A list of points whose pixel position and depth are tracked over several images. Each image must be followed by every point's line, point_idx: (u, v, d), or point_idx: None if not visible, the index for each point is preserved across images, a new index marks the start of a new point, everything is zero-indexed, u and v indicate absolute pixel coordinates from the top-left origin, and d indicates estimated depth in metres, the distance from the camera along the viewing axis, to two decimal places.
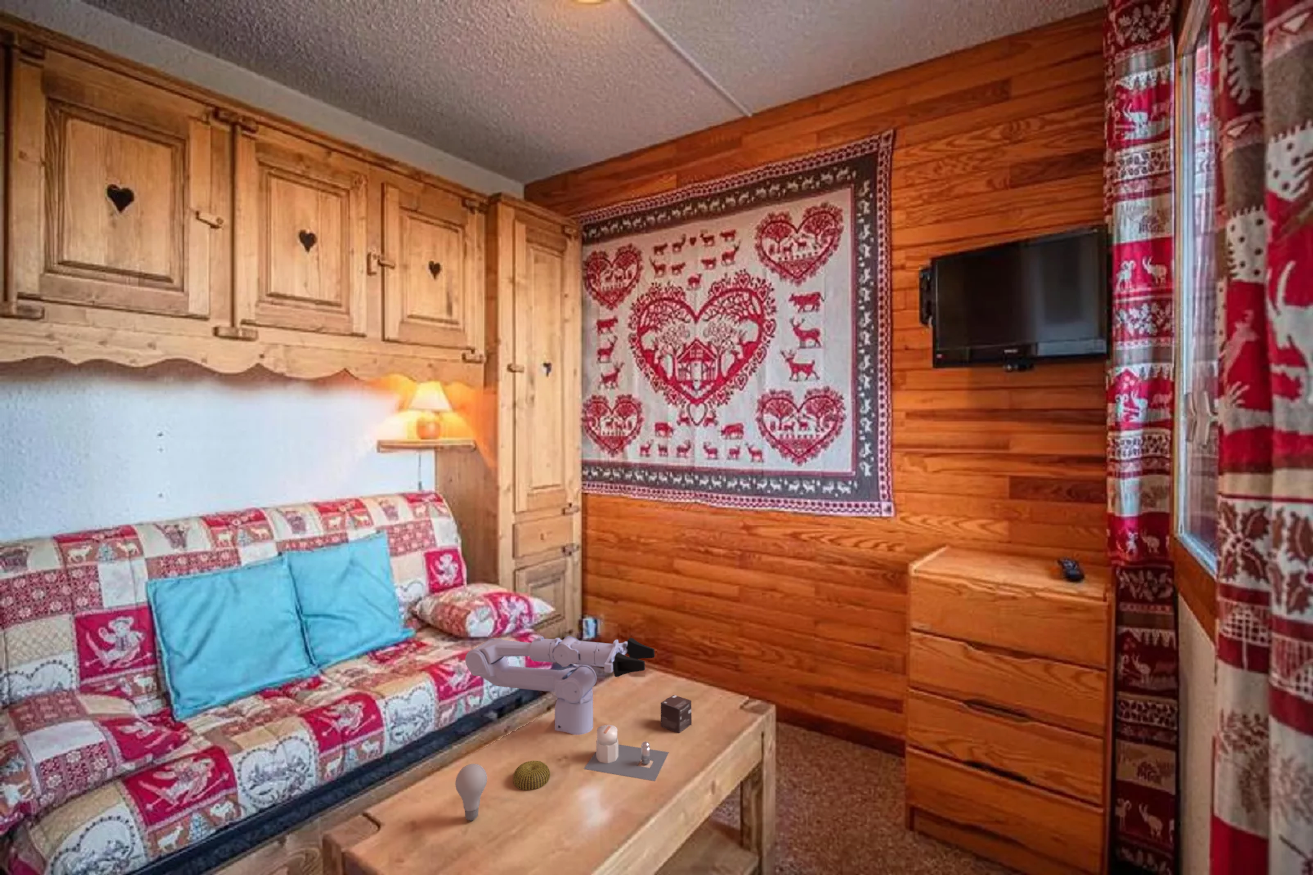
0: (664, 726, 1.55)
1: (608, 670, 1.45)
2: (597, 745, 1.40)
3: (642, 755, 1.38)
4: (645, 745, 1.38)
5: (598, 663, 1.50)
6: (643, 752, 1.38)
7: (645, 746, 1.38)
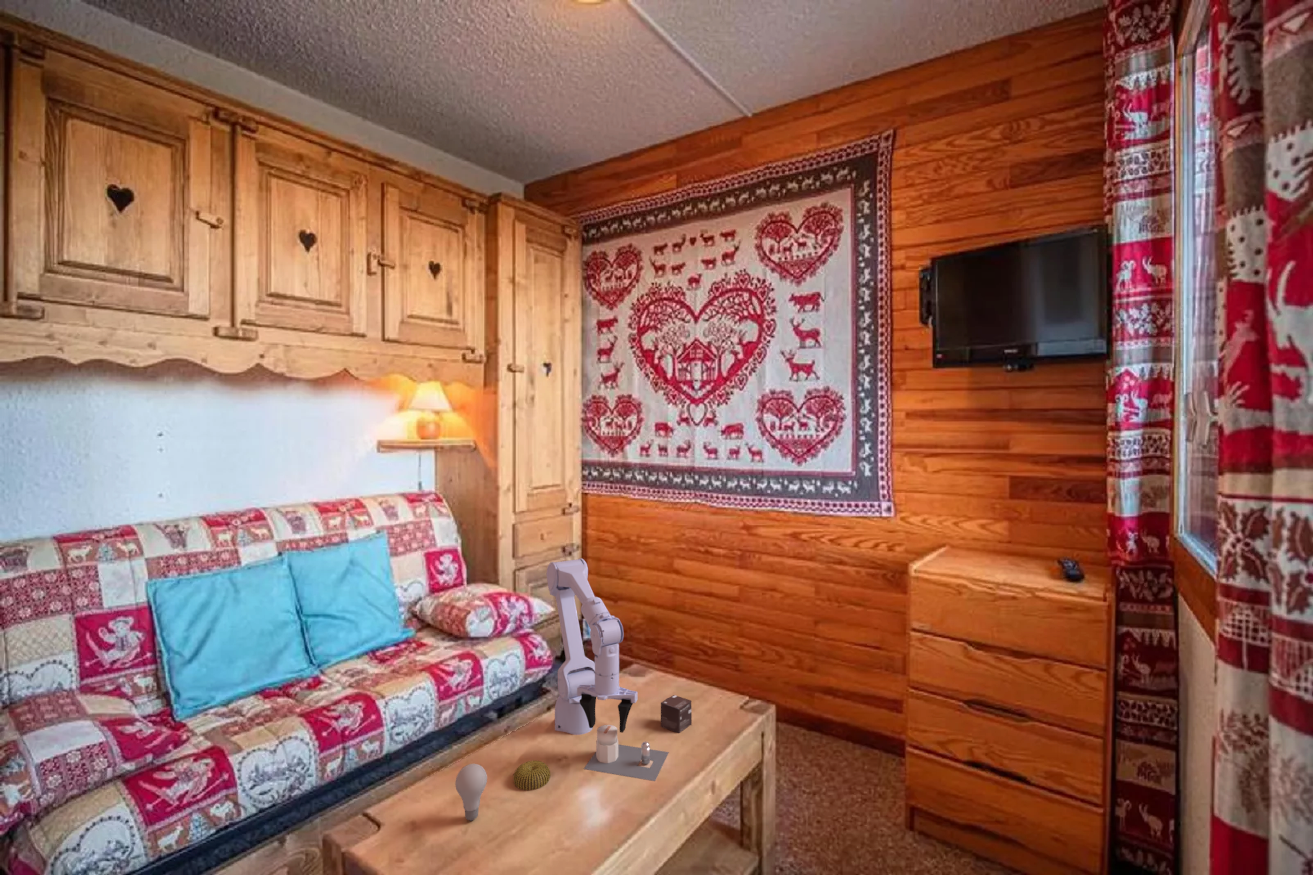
0: (664, 726, 1.55)
1: None
2: (597, 745, 1.40)
3: (642, 755, 1.38)
4: (645, 745, 1.38)
5: None
6: (643, 752, 1.38)
7: (645, 746, 1.38)
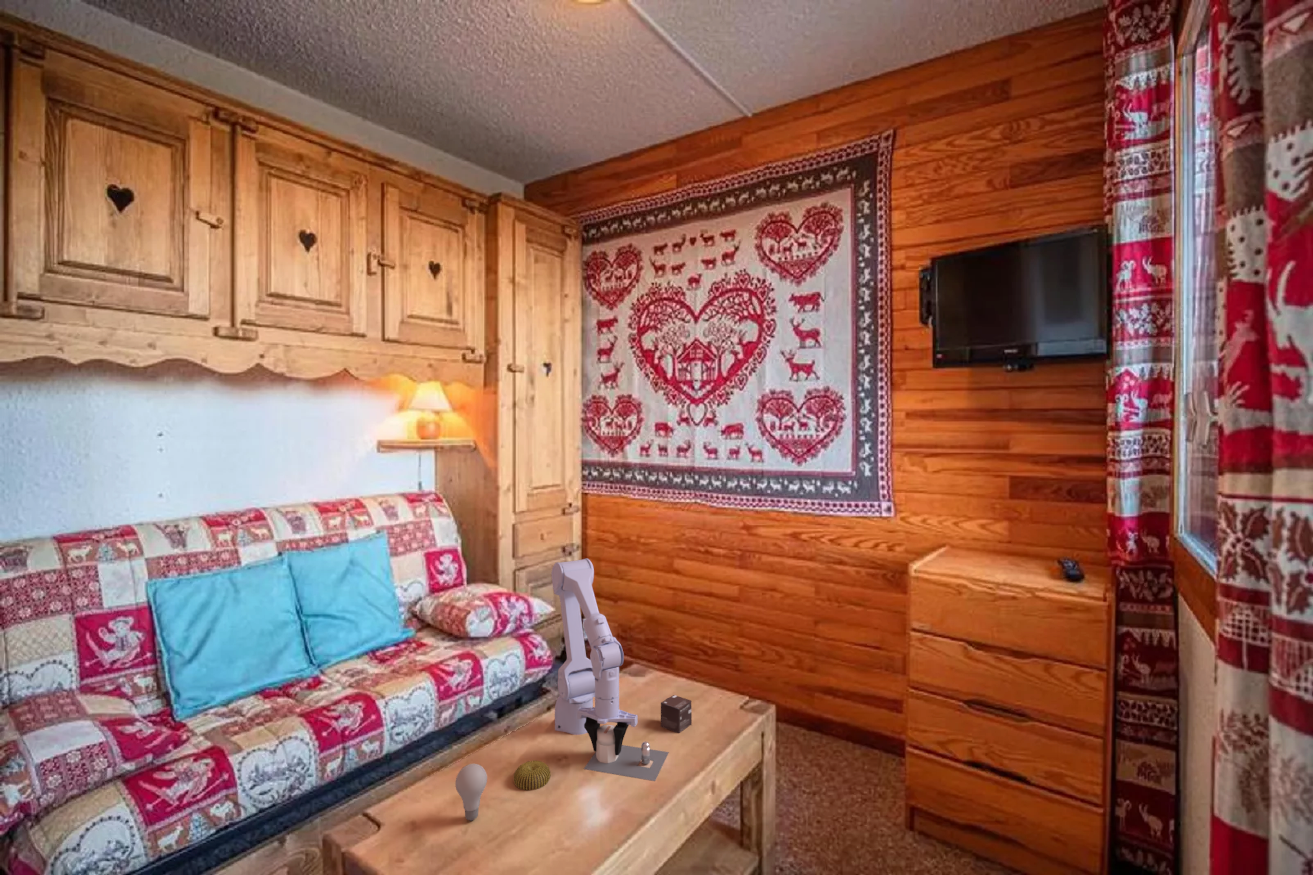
0: (664, 726, 1.55)
1: None
2: (597, 745, 1.40)
3: (642, 755, 1.38)
4: (645, 745, 1.38)
5: None
6: (643, 752, 1.38)
7: (645, 746, 1.38)
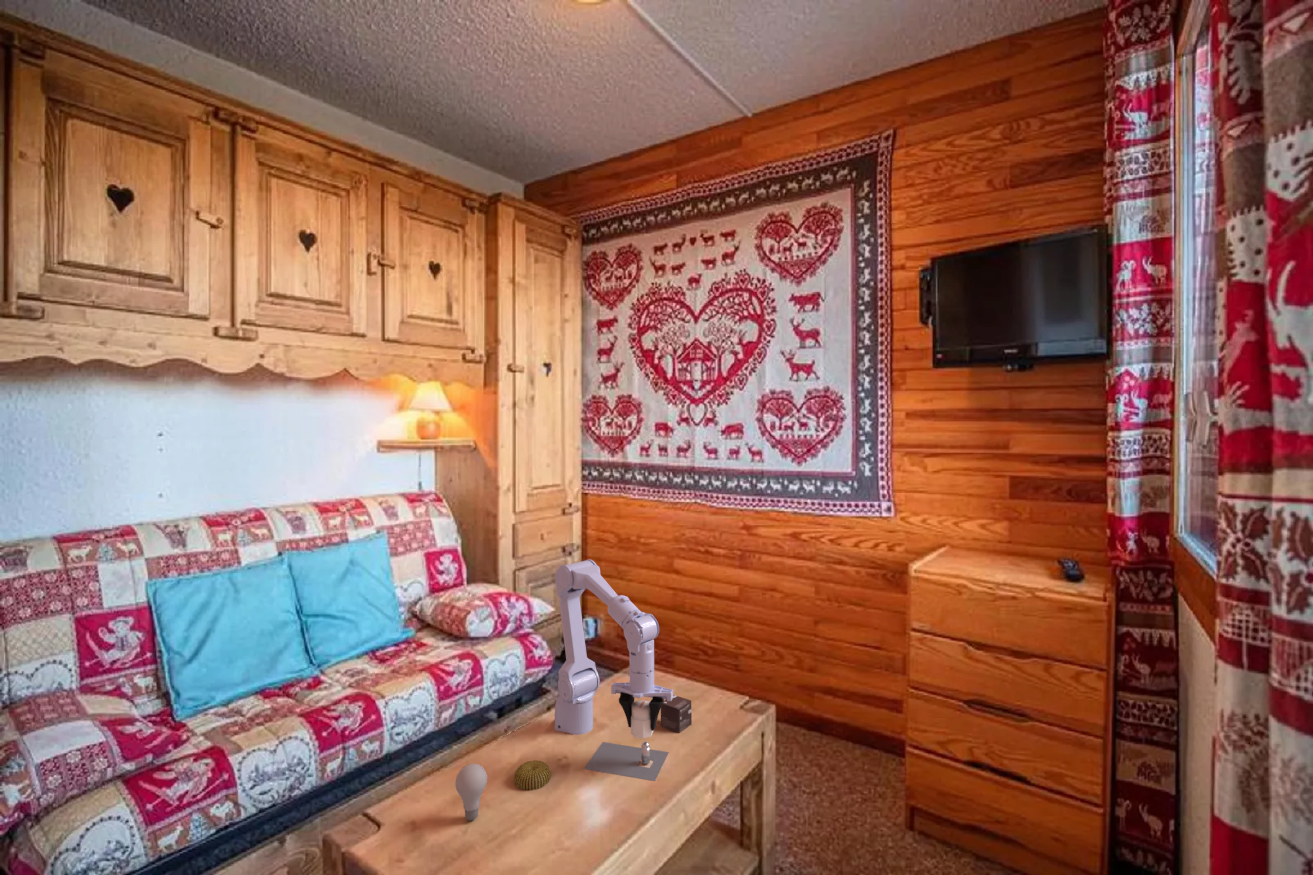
0: (664, 726, 1.55)
1: None
2: (632, 720, 1.38)
3: (642, 755, 1.38)
4: (645, 745, 1.38)
5: None
6: (643, 752, 1.38)
7: (645, 746, 1.38)
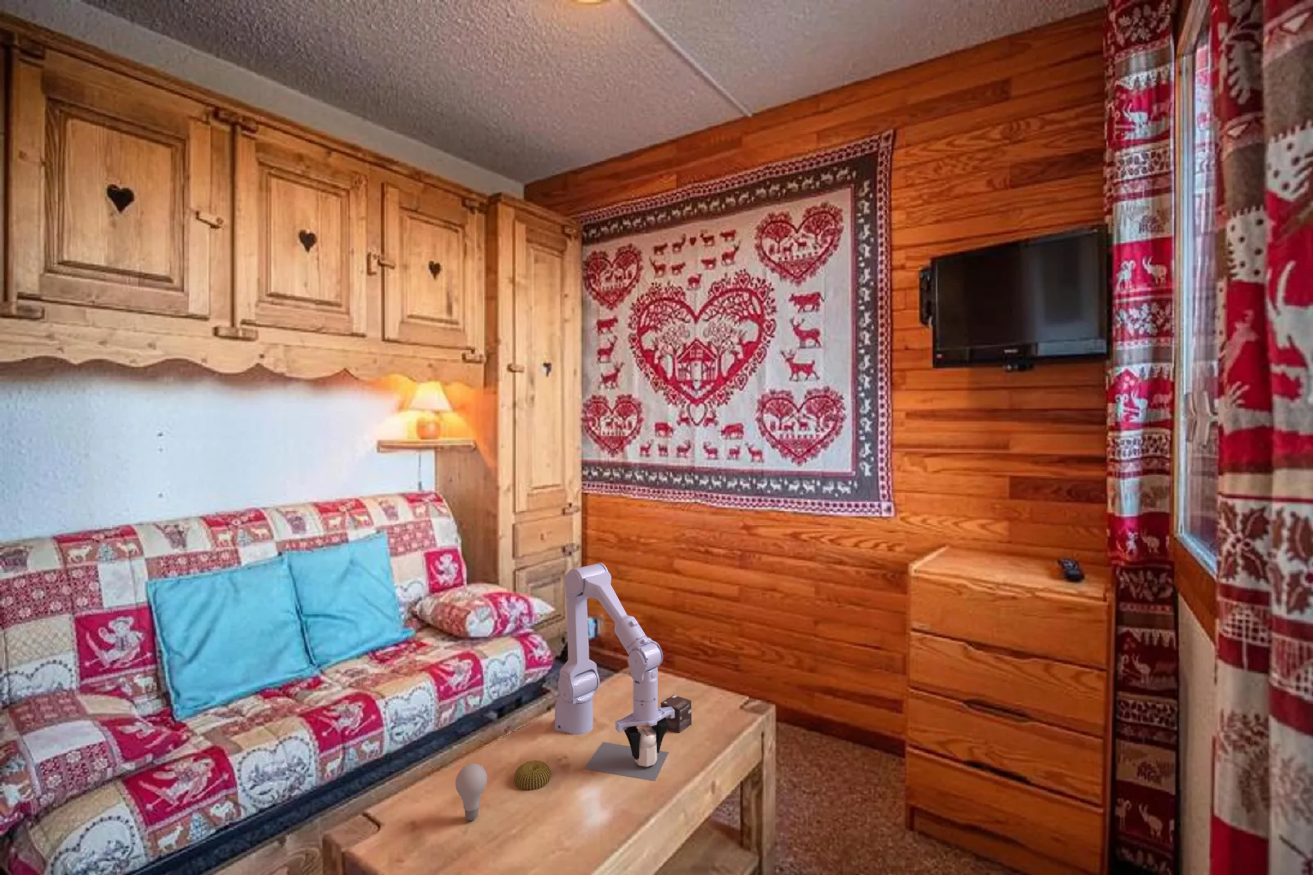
0: None
1: (616, 726, 1.36)
2: (641, 751, 1.36)
3: None
4: None
5: (633, 700, 1.38)
6: None
7: None
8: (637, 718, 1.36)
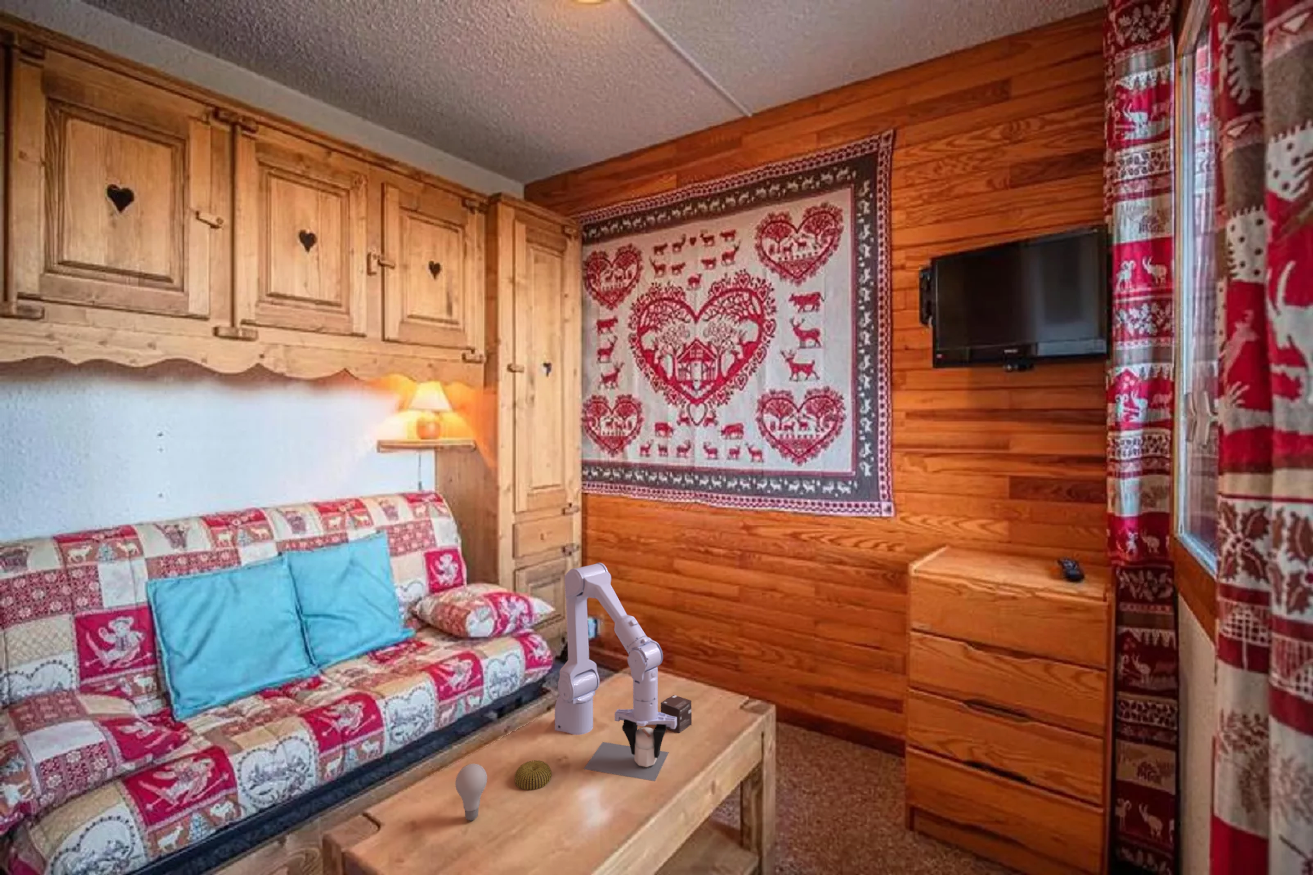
0: None
1: None
2: (641, 752, 1.37)
3: None
4: None
5: None
6: None
7: None
8: (633, 714, 1.38)
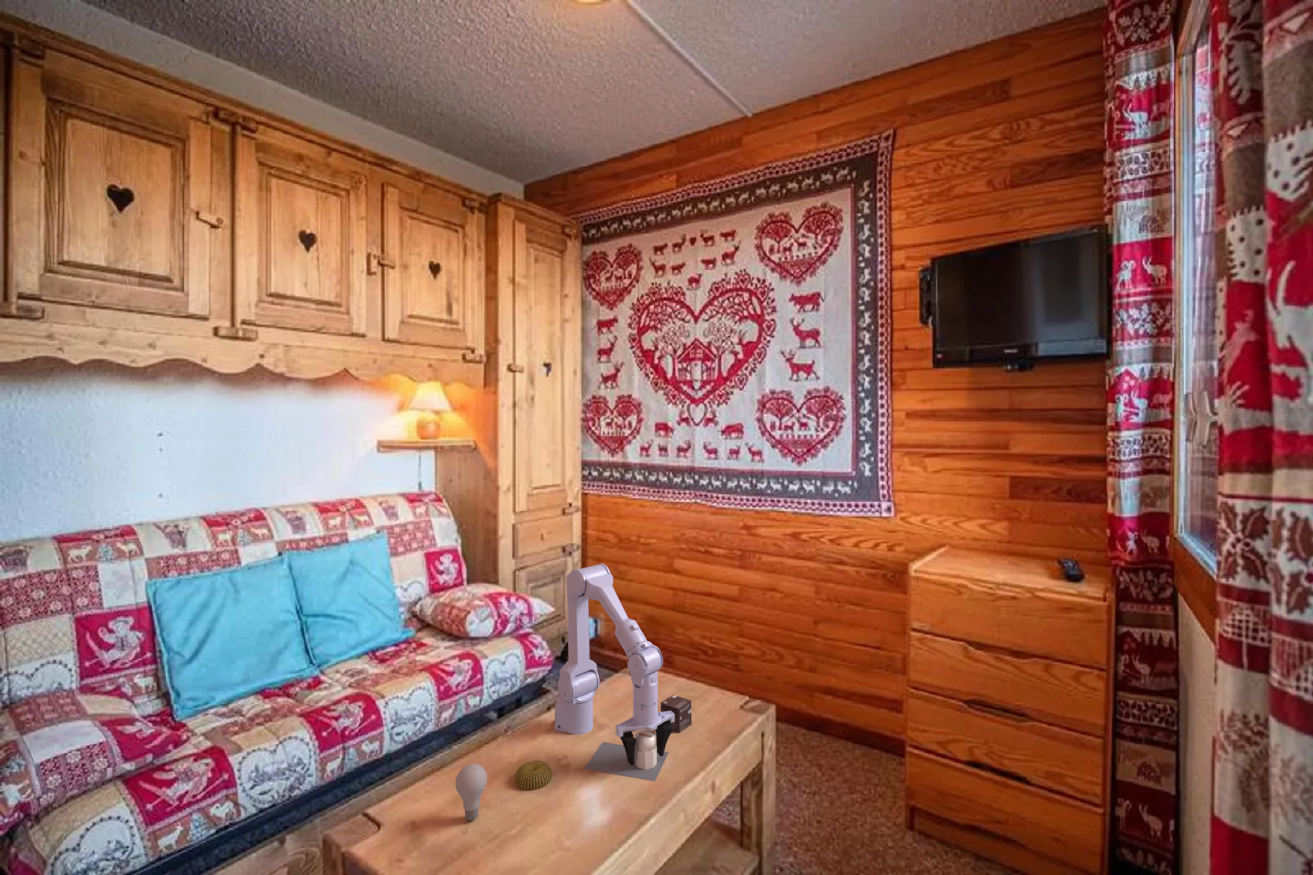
0: None
1: (616, 731, 1.36)
2: (648, 754, 1.36)
3: None
4: None
5: (633, 704, 1.38)
6: None
7: None
8: (637, 722, 1.36)
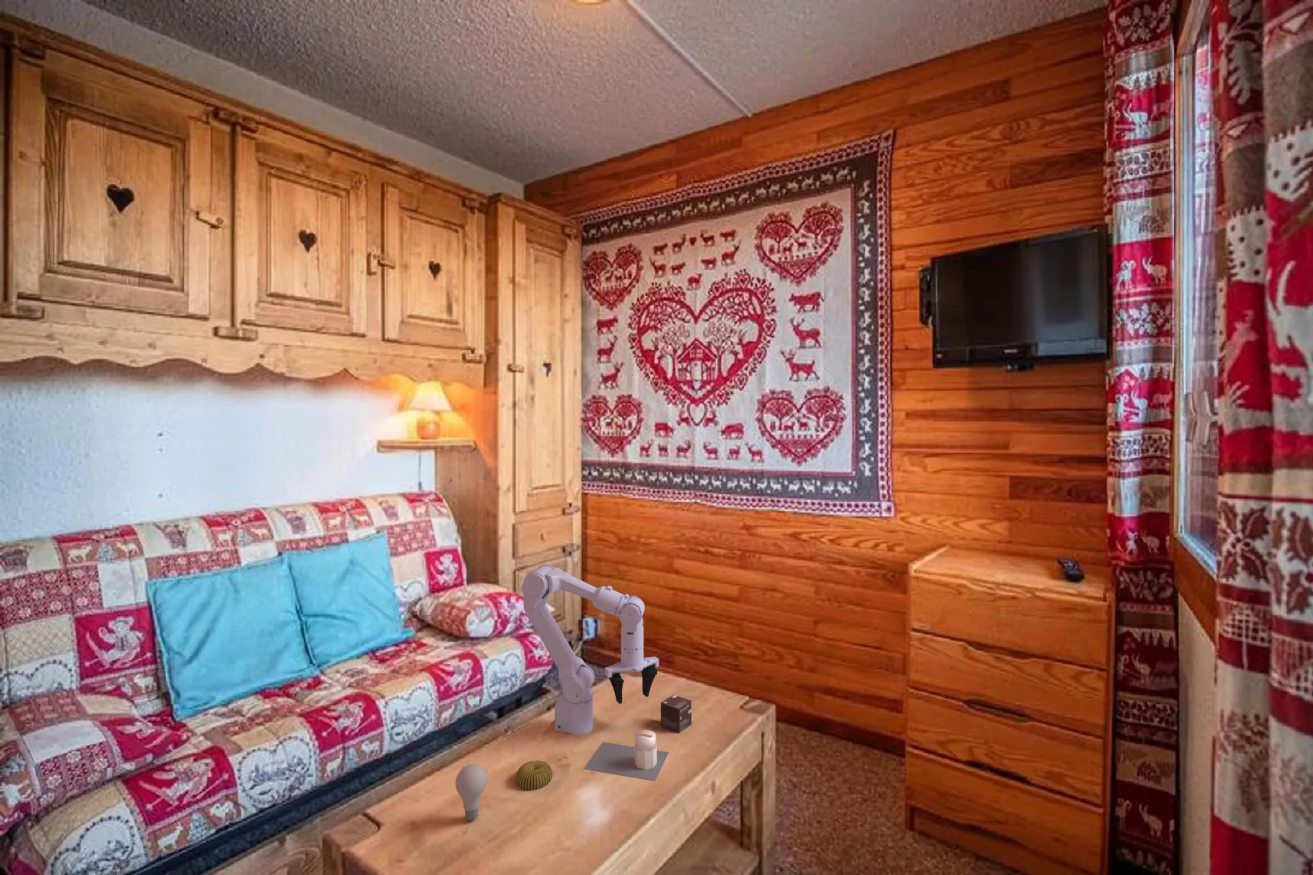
0: (664, 726, 1.55)
1: (605, 672, 1.50)
2: (648, 754, 1.36)
3: None
4: None
5: (621, 649, 1.53)
6: None
7: None
8: (624, 665, 1.51)
